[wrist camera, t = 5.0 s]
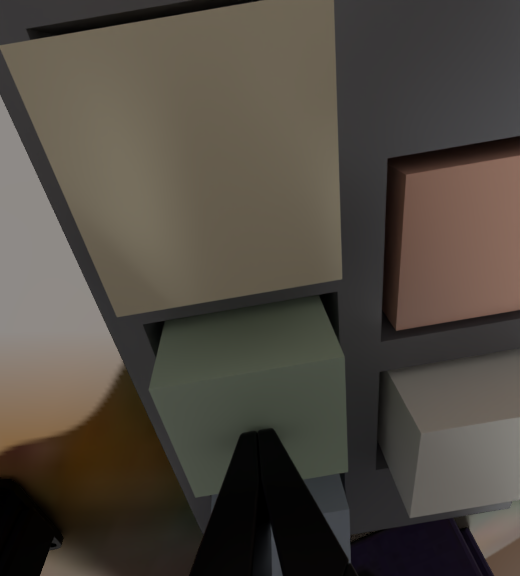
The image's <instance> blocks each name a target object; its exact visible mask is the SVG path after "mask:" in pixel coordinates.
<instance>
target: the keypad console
mask: <svg viewBox="0 0 520 576" xmlns="http://www.w3.org/2000/svg"><path fill="white" fill-rule="evenodd" d="M256 1H262V0H0V45H5V44H11V43H17V42H22V41H28V40H34V39H40V38H46V37H52V36H58V35H63V34H69V33H75V32H81V31H87V30H93V29H98V28H104V27H110V26H116V25H122V24H128V23H134V22H139V21H145V20H151V19H157V18H163V17H169V16H174V15H180V14H186V13H192V12H198V11H204V10H210V9H215V8H221V7H227V6H233V5H239V4H245V3H250V2H256ZM334 20H335V53H336V86H337V119H338V152H339V185H340V218H341V251H342V279H341V280H335V281H329V282H323V283H317V284H311V285H305V286H299V287H294V288H288V289H282V290H276V291H270V292H264V293H258V294H252V295H246V296H240V297H234V298H228V299H223V300H217V301H211V302H205V303H199V304H193V305H187V306H181V307H175V308H169V309H163V310H157V311H152V312H146V313H140V314H134V315H128V316H122V317H117V316H116V314H115V312H114V309H113V307H112V305H111V302H110V300H109V298H108V295H107V293H106V291H105V289H104V286H103V284H102V282H101V279H100V277H99V275H98V272H97V270H96V268H95V266H94V263H93V261H92V259H91V256H90V254H89V252H88V250H87V247H86V245H85V243H84V240H83V238H82V236H81V233H80V231H79V229H78V227H77V224H76V222H75V220H74V217H73V215H72V213H71V210H70V208H69V206H68V204H67V201H66V199H65V197H64V194H63V192H62V190H61V187H60V185H59V183H58V181H57V178H56V176H55V174H54V171H53V169H52V167H51V164H50V162H49V160H48V158H47V155H46V153H45V151H44V148H43V146H42V144H41V142H40V139H39V137H38V135H37V132H36V130H35V128H34V125H33V123H32V121H31V119H30V116H29V114H28V112H27V109H26V107H25V105H24V102H23V100H22V98H21V96H20V93H19V91H18V89H17V86H16V84H15V82H14V79H13V77H12V75H11V73H10V70H9V68H8V66H7V63H6V61H5V59H4V56H3V54H2V52H1V50H0V95H1V97H2V99H3V102H4V103H5V106H6V108H7V110H8V112H9V114H10V117H11V119H12V121H13V123H14V125H15V128H16V129H17V132H18V134H19V136H20V138H21V141H22V143H23V145H24V147H25V149H26V151H27V154H28V156H29V158H30V160H31V162H32V165H33V166H34V169H35V171H36V173H37V175H38V178H39V180H40V182H41V184H42V186H43V188H44V191H45V193H46V195H47V197H48V199H49V201H50V204H51V205H52V208H53V210H54V212H55V214H56V217H57V219H58V221H59V223H60V225H61V227H62V230H63V232H64V234H65V236H66V238H67V241H68V243H69V245H70V247H71V249H72V251H73V253H74V256H75V258H76V260H77V262H78V264H79V267H80V269H81V270H82V273H83V275H84V277H85V280H86V282H87V284H88V286H89V288H90V290H91V293H92V295H93V297H94V299H95V301H96V304H97V306H98V308H99V310H100V312H101V314H102V316H103V319H104V321H105V323H106V325H107V327H108V330H109V332H110V334H111V336H112V338H113V340H114V343H115V345H116V347H117V349H118V351H119V353H120V356H121V358H122V360H123V362H124V364H125V366H126V369H127V371H128V373H129V375H130V377H131V380H132V382H133V384H134V386H135V388H136V390H137V393H138V395H139V397H140V399H141V401H142V403H143V406H144V408H145V410H146V412H147V414H148V416H149V419H150V421H151V423H152V425H153V427H154V429H155V432H156V434H157V436H158V438H159V440H160V442H161V445H162V447H163V449H164V451H165V453H166V456H167V458H168V460H169V462H170V464H171V466H172V469H173V471H174V473H175V475H176V477H177V479H178V482H179V484H180V486H181V488H182V490H183V492H184V495H185V497H186V499H187V501H188V503H189V505H190V508H191V510H192V512H193V514H194V516H195V519H196V521H197V523H198V525H199V527H200V529H201V532H202V534H203V535H204V532H205V530H206V527H207V524H208V521H209V519H210V516H211V501H212V495H208V496H202V497H196V498H195V495H194V493H193V491H192V489H191V486H190V484H189V482H188V479H187V477H186V475H185V472H184V470H183V468H182V466H181V463H180V461H179V459H178V456H177V454H176V452H175V449H174V447H173V445H172V443H171V440H170V438H169V436H168V433H167V431H166V429H165V426H164V424H163V422H162V420H161V417H160V415H159V413H158V410H157V408H156V406H155V403H154V401H153V399H152V397H151V394H150V392H149V386H150V381H151V377H152V373H153V369H154V365H155V360H156V356H157V352H158V348H159V343H160V339H161V335H162V331H163V327H164V322H165V321H166V320H172V319H178V318H183V317H189V316H195V315H201V314H207V313H213V312H219V311H225V310H231V309H237V308H243V307H249V306H254V305H260V304H266V303H272V302H278V301H284V300H290V299H296V298H302V297H308V296H314V295H319V297H320V299H321V302H322V304H323V306H324V309H325V311H326V314H327V316H328V318H329V321H330V323H331V325H332V328H333V330H334V332H335V335H336V337H337V340H338V342H339V344H340V347H341V349H342V351H343V354H344V356H345V383H346V416H347V449H348V472H345V473H339V475H340V478H341V482H342V485H343V489H344V492H345V496H346V499H347V503H348V506H349V515H350V535H352V534H358V533H364V532H370V531H376V530H382V529H388V528H394V527H400V526H406V525H412V524H418V523H424V522H430V521H436V520H442V519H448V518H454V517H460V516H466V515H472V514H478V513H484V512H490V511H496V510H502V509H508V508H510V506H511V504H512V501H510V502H504V503H498V504H492V505H486V506H480V507H474V508H468V509H462V510H456V511H450V512H444V513H438V514H432V515H426V516H420V517H414V518H409V515H408V513H407V510H406V508H405V506H404V503H403V501H402V498H401V496H400V494H399V491H398V489H397V486H396V484H395V481H394V479H393V477H392V474H391V472H390V469H389V467H388V465H387V462H386V460H385V457H384V455H383V453H382V450H381V448H380V445H379V443H378V441H377V425H378V399H379V372H382V371H388V370H394V369H400V368H406V367H412V366H418V365H424V364H430V363H436V362H442V361H447V360H453V359H459V358H465V357H471V356H477V355H483V354H489V353H495V352H501V351H507V350H513V349H519V348H520V310H516V311H510V312H505V313H499V314H493V315H487V316H481V317H475V318H469V319H463V320H457V321H451V322H445V323H439V324H433V325H427V326H422V327H416V328H410V329H404V330H398V331H396V330H395V328H394V327H393V325H392V324H391V322H390V321H389V319H388V318H387V316H386V315H385V313H384V312H383V310H382V293H383V267H384V240H385V214H386V187H387V161H388V158H393V157H399V156H404V155H410V154H416V153H422V152H428V151H434V150H440V149H446V148H452V147H457V146H463V145H469V144H475V143H481V142H487V141H493V140H499V139H504V138H510V137H516V136H520V0H334Z"/></svg>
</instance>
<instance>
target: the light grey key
mask: <svg viewBox="0 0 520 576" xmlns="http://www.w3.org/2000/svg"><path fill="white" fill-rule="evenodd" d="M377 441H378V443H379V445H380V448H381V450H382V453H383V455H384V457H385V460H386V462H387V465H388V467H389V469H390V472H391V474H392V477H393V479H394V481H395V484H396V486H397V489H398V491H399V494H400V496H401V498H402V501H403V503H404V506H405V508H406V510H407V513H408V515H409V518H414V517H420V516H426V515H432V514H438V513H444V512H450V511H456V510H462V509H468V508H474V507H480V506H486V505H492V504H498V503H504V502H510V501H516V500H520V348H519V349H513V350H507V351H501V352H495V353H489V354H483V355H477V356H471V357H465V358H459V359H453V360H447V361H442V362H436V363H430V364H424V365H418V366H412V367H406V368H400V369H394V370H388V371H382V372H379V399H378V425H377Z"/></svg>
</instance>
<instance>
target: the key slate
mask: <svg viewBox="0 0 520 576" xmlns="http://www.w3.org/2000/svg"><path fill="white" fill-rule="evenodd" d="M304 482H305V484H306V486H307V487H308V489H309V491H310V493H311V494H312V496H313V498H314V500H315V501H316V503H317V505H318V507H319V508H320V510H321V512H322V514H323V515H324V517H325V519H326V521H327V522H328V524H329V526H330V527H331V529H332V531H333V533H334V534H335V536H336V538H337V540H338V541H339V543H340V545H341V547H342V548H343V550H344V552H345V554H346V555H347V557H348V559H349V563H351V548H350V515H349V506H348V503H347V499H346V496H345V492H344V489H343V485H342V482H341V478H340V475H339V474H333V475H327V476H322V477H316V478H310V479H304ZM217 497H218V494H214V495H212V501H211V513H212V510H213V508H214V505H215V502H216V499H217ZM271 545H272V576H283V575H282V571H281V566H280V562H279V558H278V554H277V549H276V545H275V541H274V536H273V532H272V528H271Z"/></svg>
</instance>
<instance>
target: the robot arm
mask: <svg viewBox="0 0 520 576" xmlns="http://www.w3.org/2000/svg"><path fill="white" fill-rule="evenodd" d="M271 528H272V532H273V536H274V541H275V545H276V549H277V554H278V558H279V562H280V566H281V571H282V575H283V576H358V574H357V572H356V571H355V569H354V567H353V566H352V564H351V563H349V559H348V557H347V555H346V554H345V552H344V550H343V548H342V547H341V545H340V543H339V541H338V540H337V538H336V536H335V534H334V533H333V531H332V529H331V527H330V526H329V524H328V522H327V521H326V519H325V517H324V515H323V514H322V512H321V510H320V508H319V507H318V505H317V503H316V501H315V500H314V498H313V496H312V494H311V493H310V491H309V489H308V487H307V486H306V484H305V482H304V480H303V479H302V477H301V475H300V473H299V472H298V470H297V468H296V466H295V465H294V463H293V461H292V459H291V458H290V456H289V454H288V453H287V451H286V449H285V447H284V446H283V444H282V442H281V440H280V439H279V437H278V435H277V433H276V432H275V430H274V429H273V428H267V429H261V430H259V431H258V432H256V431H249V432H243V433H241V434H240V436H239V439H238V441H237V444H236V447H235V450H234V452H233V455H232V458H231V461H230V463H229V466H228V469H227V472H226V474H225V477H224V480H223V483H222V486H221V488H220V491H219V494H218V497H217V499H216V502H215V505H214V508H213V510H212V513H211V516H210V519H209V521H208V524H207V527H206V530H205V532H204V535H203V538H202V541H201V543H200V546H199V549H198V552H197V554H196V557H195V560H194V563H193V566H192V568H191V571H190V574H189V576H272V545H271ZM63 539H64V537H63V535H62V534H61V533H60V532H59V531H58V530H57V528H56V527H55V526H54V525H53V524H52V523H51V522H50V520H49V519H48V518H47V517H46V516H45V515H44V514H43V512H42V511H41V510H40V509H39V508H38V507H37V506H36V504H35V503H34V502H33V501H32V500H31V499H30V498H29V496H28V495H27V494H26V493H25V492H24V491H23V490H22V488H21V487H20V486H19V485H18V484H17V483H16V482H15V481H12V480H9V479H2V480H0V576H40V574H41V571H42V568H43V566H44V563H45V560H46V557H47V555H48V552H49V550H54V549H58V548H60V547H61V545H62V542H63Z"/></svg>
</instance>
